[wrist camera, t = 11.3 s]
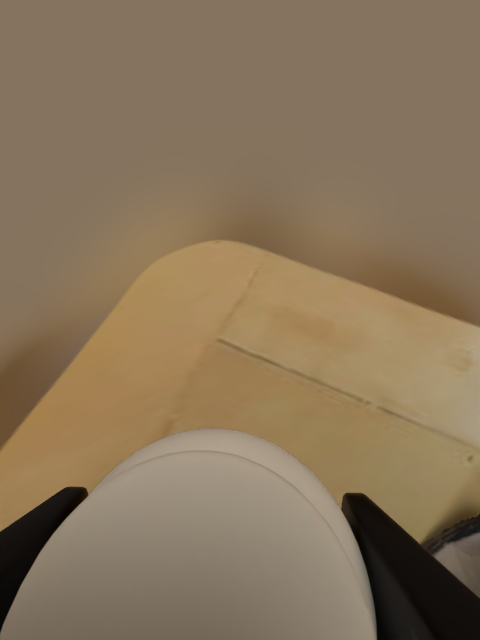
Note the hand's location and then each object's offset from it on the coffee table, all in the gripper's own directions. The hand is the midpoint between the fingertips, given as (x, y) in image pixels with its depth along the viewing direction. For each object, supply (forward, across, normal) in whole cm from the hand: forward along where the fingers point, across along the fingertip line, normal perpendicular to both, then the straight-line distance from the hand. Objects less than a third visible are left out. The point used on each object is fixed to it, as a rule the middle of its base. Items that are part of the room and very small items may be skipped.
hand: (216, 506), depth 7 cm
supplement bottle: (+4, 0, +6) cm, 7 cm away
